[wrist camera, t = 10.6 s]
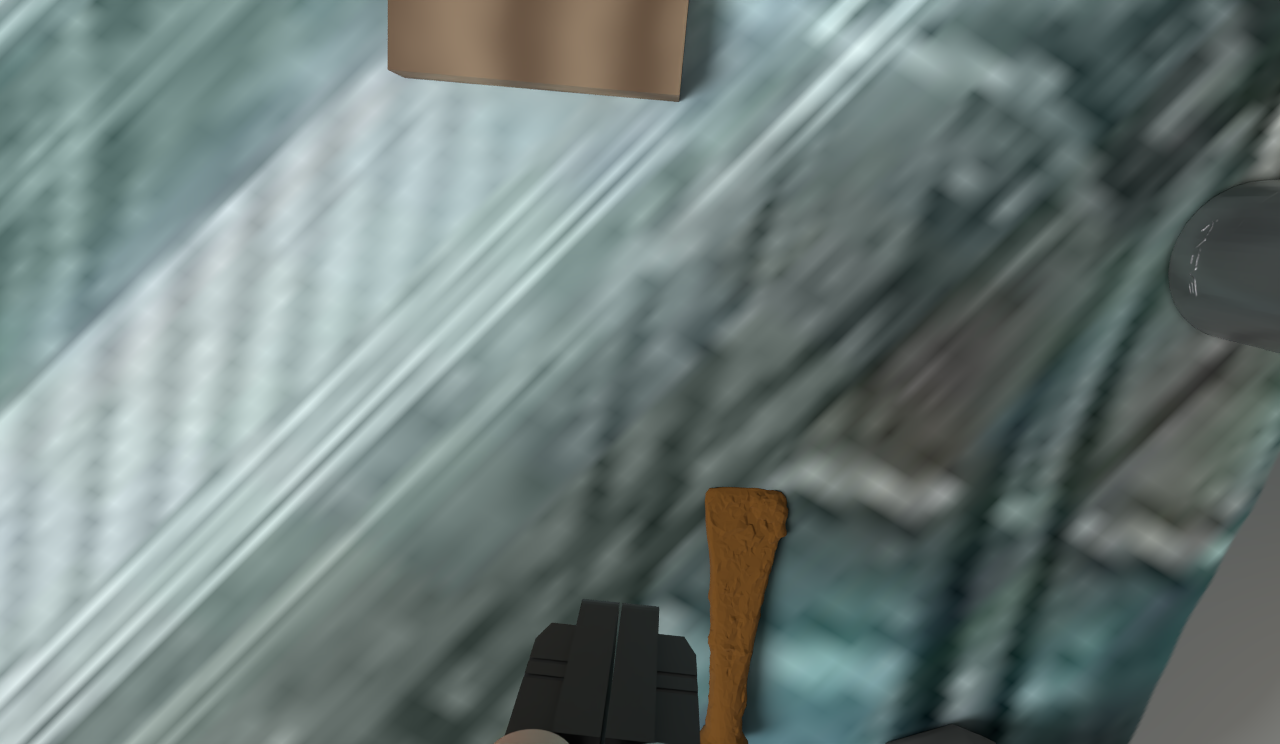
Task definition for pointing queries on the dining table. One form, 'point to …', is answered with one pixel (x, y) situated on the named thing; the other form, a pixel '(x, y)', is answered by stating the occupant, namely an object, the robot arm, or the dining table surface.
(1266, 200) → the robot arm
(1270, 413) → the dining table surface
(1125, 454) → the dining table surface
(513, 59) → the board
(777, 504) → the primitive tool
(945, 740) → the liquor
